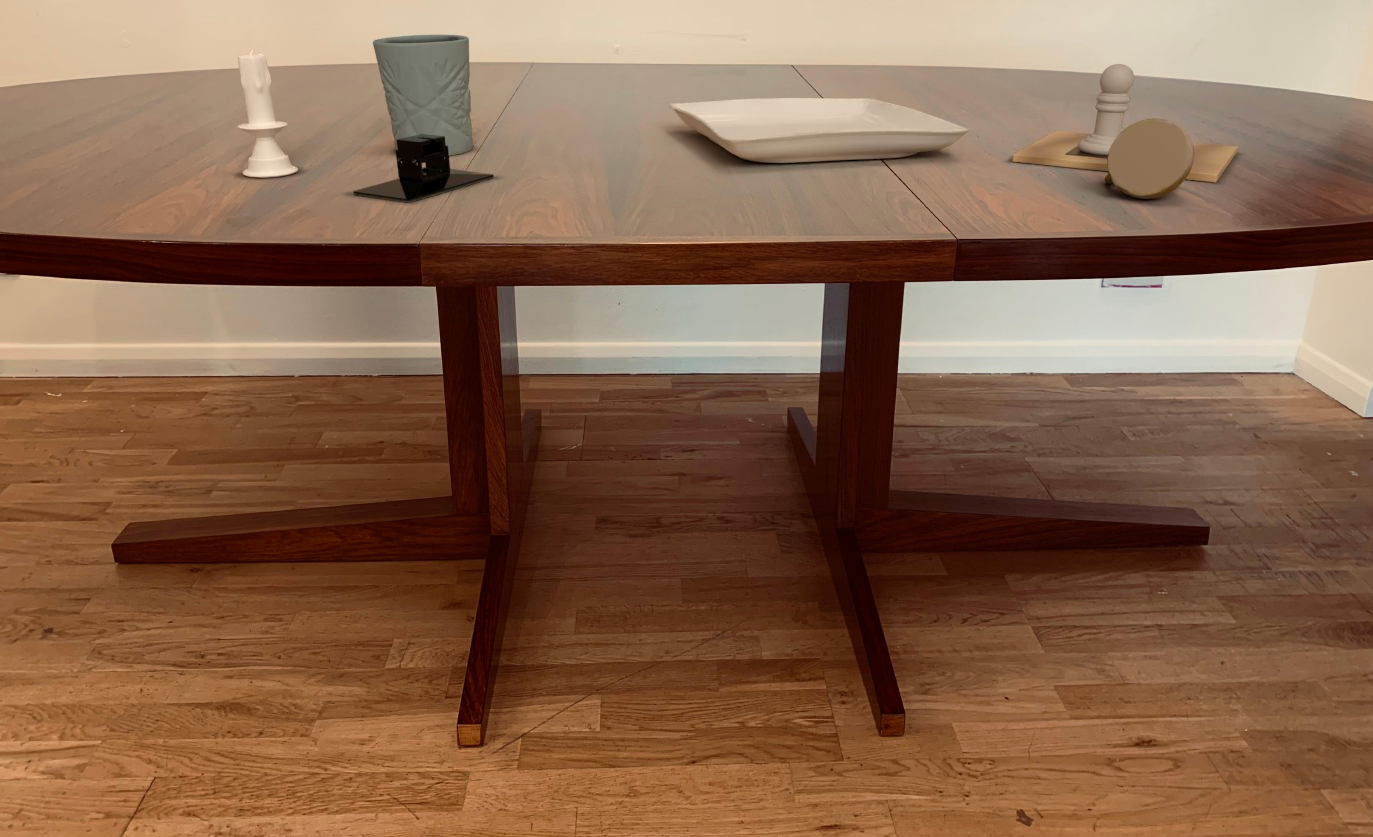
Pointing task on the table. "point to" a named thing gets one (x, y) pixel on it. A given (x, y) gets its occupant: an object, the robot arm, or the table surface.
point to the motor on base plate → (422, 171)
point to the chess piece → (1109, 109)
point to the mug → (1150, 158)
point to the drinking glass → (427, 87)
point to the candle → (262, 120)
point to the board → (1065, 153)
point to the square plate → (817, 128)
